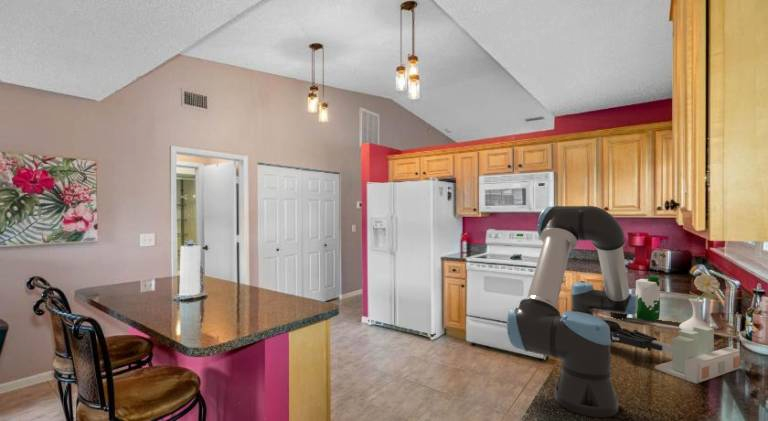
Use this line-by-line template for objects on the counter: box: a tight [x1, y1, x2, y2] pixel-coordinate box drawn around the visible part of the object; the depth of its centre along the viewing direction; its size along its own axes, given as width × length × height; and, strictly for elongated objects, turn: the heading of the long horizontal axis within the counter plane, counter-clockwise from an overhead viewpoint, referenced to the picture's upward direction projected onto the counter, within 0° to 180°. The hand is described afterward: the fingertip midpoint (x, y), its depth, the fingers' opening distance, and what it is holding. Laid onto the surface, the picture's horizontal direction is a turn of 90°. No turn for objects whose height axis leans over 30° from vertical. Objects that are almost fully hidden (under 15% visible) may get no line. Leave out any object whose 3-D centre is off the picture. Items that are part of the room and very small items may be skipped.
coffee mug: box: [609, 311, 628, 320], centre depth 181 cm, size 12×9×10 cm
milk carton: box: [635, 275, 661, 323], centre depth 178 cm, size 9×9×20 cm
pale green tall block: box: [671, 335, 694, 373], centre depth 119 cm, size 4×4×10 cm
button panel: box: [654, 346, 741, 384], centre depth 123 cm, size 25×12×6 cm, turn 115°
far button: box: [693, 326, 715, 356], centre depth 129 cm, size 4×4×10 cm
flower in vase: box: [678, 273, 721, 331], centre depth 157 cm, size 13×11×25 cm
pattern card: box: [699, 352, 741, 383], centre depth 118 cm, size 22×1×5 cm, turn 115°
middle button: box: [677, 329, 699, 357], centre depth 126 cm, size 4×4×10 cm
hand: (674, 351), depth 121 cm, fingers closed
